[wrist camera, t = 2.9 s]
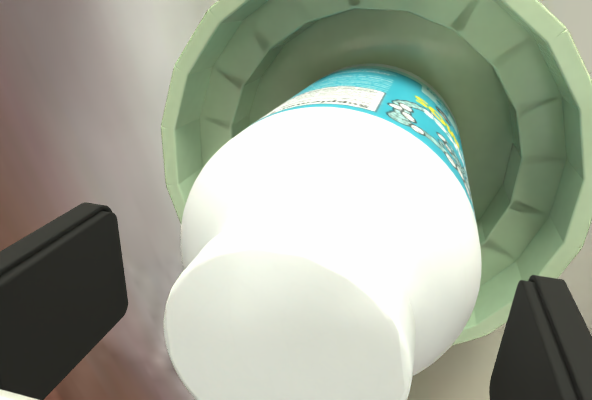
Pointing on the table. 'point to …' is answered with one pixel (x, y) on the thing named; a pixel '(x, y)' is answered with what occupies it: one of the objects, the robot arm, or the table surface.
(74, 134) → the table surface
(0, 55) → the table surface
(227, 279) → the pill bottle
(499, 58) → the bowl
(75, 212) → the robot arm
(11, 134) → the table surface
